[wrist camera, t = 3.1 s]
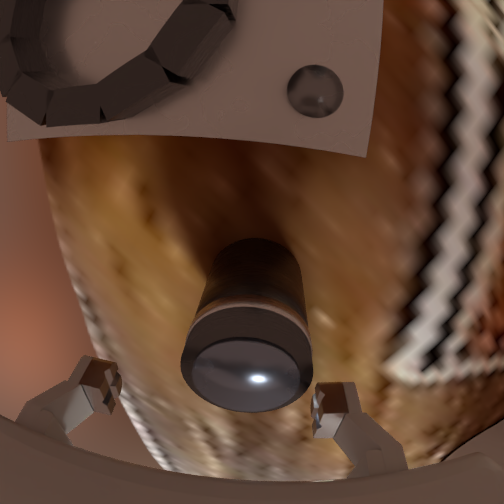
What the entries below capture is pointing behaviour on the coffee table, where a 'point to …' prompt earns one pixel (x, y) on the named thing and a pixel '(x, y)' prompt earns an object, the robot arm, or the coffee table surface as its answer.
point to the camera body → (193, 69)
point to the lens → (250, 331)
